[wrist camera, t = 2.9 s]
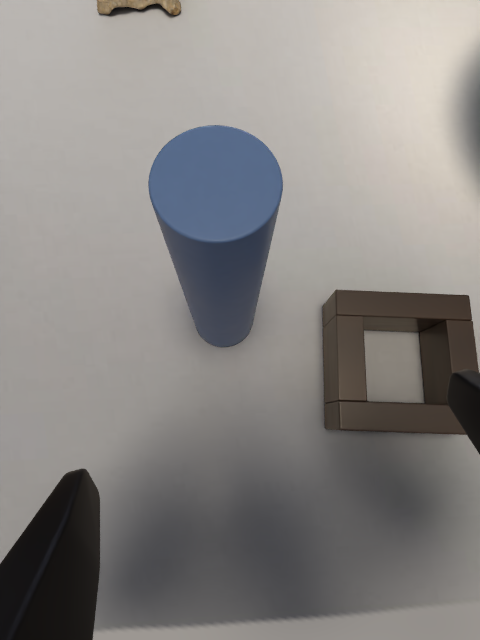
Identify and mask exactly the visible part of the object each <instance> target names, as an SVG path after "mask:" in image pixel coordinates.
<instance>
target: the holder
mask: <svg viewBox="0 0 480 640" xmlns="http://www.w3.org/2000/svg"><path fill="white" fill-rule="evenodd" d="M471 320H472V316H471V307H470V299H469V296H468V295H448V294H424V293H400V292H376V291H352V290H335V292H334V293H333V294H332V295H331V297H330V298H329V299H328V300H327V302H326V303H325V304H324V305H323V358H324V402H325V428H326V429H331V430H348V431H376V432H404V433H432V434H460V435H467V434H466V432H465V431H464V429H463V428H462V426H461V424H460V423H459V421H458V420H457V418H456V417H455V415H454V414H453V412H452V410H451V409H450V407H449V405H448V403H447V398H446V397H447V390H448V384H449V378H450V375H451V374H452V373H453V372H456V371H460V370H464V369H470V370H473V371H476V372H478V373H479V370H478V362H477V354H476V345H475V337H474V329H473V322H472V321H471ZM364 330H380V331H405V332H420V333H419V336H420V348H421V360H422V371H423V383H424V395H425V404H423V403H396V402H369V401H367V390H366V369H365V348H364Z"/></svg>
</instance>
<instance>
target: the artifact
mask: <svg viewBox="0 0 480 640" xmlns="http://www.w3.org/2000/svg"><path fill="white" fill-rule="evenodd" d="M156 3H158V4H160V5H162V7H163V8H165V9H166V10H167V11H168V12H169V13H170V14H173V15H177V14H179V13H180V12H181V5H180V2H179V1H178V0H97V8H98V9H97V10H98V12H99V13H103V14H110V13H111V11H112V10H113V9H114V8H116V7H132V8H137V9H139V10H140V9H144V8H145V7H146V6H148V5H151V4H156Z"/></svg>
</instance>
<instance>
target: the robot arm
mask: <svg viewBox="0 0 480 640" xmlns="http://www.w3.org/2000/svg"><path fill="white" fill-rule="evenodd" d="M446 398H447V403H448V405H449V407H450V409H451V410H452V412H453V414H454V415H455V417H456V418H457V420H458V421H459V423H460V424H461V426H462V428H463V429H464V431H465V432H466V434H467V435H468V437H469V438H470V440H471V442H472V443H473V445H474V446H475V448H476V449H477V451H478V452H479V454H480V373H478V372H476V371H473V370H470V369H464V370H460V371H456V372H453V373H452V374H451V375H450V378H449V384H448V390H447V397H446ZM99 571H100V497H99V492H98V489H97V487H96V486H95V484H94V482H93V480H92V478H91V477H90V475H89V473H88V471H87V470H86V469H79V470H75V471H71V472H68V473H66V474H65V475H64V476H63V478H62V479H61V480H60V482H59V483H58V485H57V486H56V487H55V489H54V490H53V492H52V493H51V494H50V496H49V497H48V498H47V500H46V501H45V503H44V504H43V505H42V507H41V508H40V510H39V511H38V512H37V514H36V515H35V517H34V518H33V519H32V521H31V522H30V523H29V525H28V526H27V528H26V529H25V530H24V532H23V533H22V535H21V536H20V537H19V539H18V540H17V541H16V543H15V544H14V546H13V547H12V548H11V550H10V551H9V553H8V554H7V555H6V557H5V558H4V560H3V561H2V562H1V564H0V640H92V639H93V630H94V620H95V611H96V602H97V592H98V583H99Z"/></svg>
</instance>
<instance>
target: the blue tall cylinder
mask: <svg viewBox="0 0 480 640" xmlns="http://www.w3.org/2000/svg"><path fill="white" fill-rule="evenodd" d="M282 190H283V180H282V174H281V170H280V167H279V165H278V162H277V160H276V158H275V157H274V155H273V153H272V152H271V151H270V150H269V148H268V147H267V146H266V145H265V144H264V143H263V142H262V141H260V140H259V139H258V138H256V137H255V136H253V135H251V134H249V133H248V132H245V131H243V130H240V129H237V128H233V127H228V126H219V125H212V126H203V127H198V128H194V129H191V130H188V131H186V132H183V133H182V134H180V135H178V136H176V137H175V138H173V139H172V140H171V141H169V142H168V143H167V144H166V145H165V146H164V147H163V148H162V150H161V151H160V152H159V154H158V155H157V157H156V158H155V160H154V163H153V165H152V167H151V171H150V175H149V194H150V199H151V202H152V205H153V208H154V211H155V213H156V216H157V219H158V222H159V225H160V227H161V230H162V233H163V236H164V239H165V241H166V244H167V247H168V250H169V253H170V255H171V258H172V261H173V264H174V267H175V269H176V272H177V275H178V278H179V281H180V284H181V286H182V289H183V292H184V295H185V298H186V300H187V303H188V306H189V309H190V312H191V314H192V317H193V320H194V323H195V326H196V328H197V331H198V333H199V334H200V336H201V337H202V338H203V339H204V340H205V341H207V342H208V343H210V344H212V345H215V346H219V347H229V346H233V345H236V344H238V343H239V342H241V341H242V340H243V339H245V337H246V336H247V335H248V333H249V332H250V330H251V327H252V323H253V319H254V315H255V310H256V306H257V301H258V297H259V293H260V288H261V284H262V280H263V275H264V271H265V266H266V262H267V258H268V253H269V249H270V245H271V240H272V236H273V231H274V227H275V223H276V218H277V214H278V210H279V205H280V201H281V196H282Z"/></svg>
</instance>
